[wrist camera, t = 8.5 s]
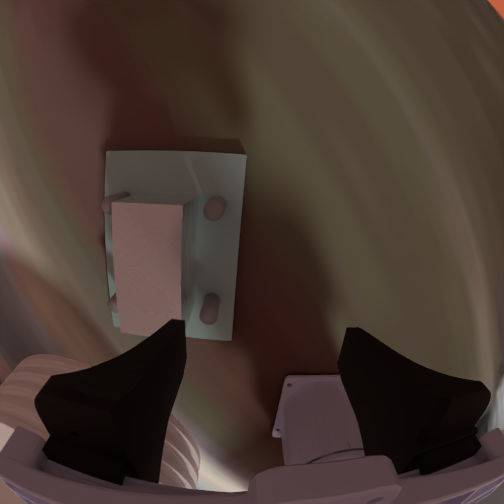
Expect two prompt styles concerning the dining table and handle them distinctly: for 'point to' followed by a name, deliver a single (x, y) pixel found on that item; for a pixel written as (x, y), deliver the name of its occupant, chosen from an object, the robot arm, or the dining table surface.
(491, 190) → the dining table surface
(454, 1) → the dining table surface
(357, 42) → the dining table surface
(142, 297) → the pale pink block
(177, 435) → the plate stack
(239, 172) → the grey plate with pegs
